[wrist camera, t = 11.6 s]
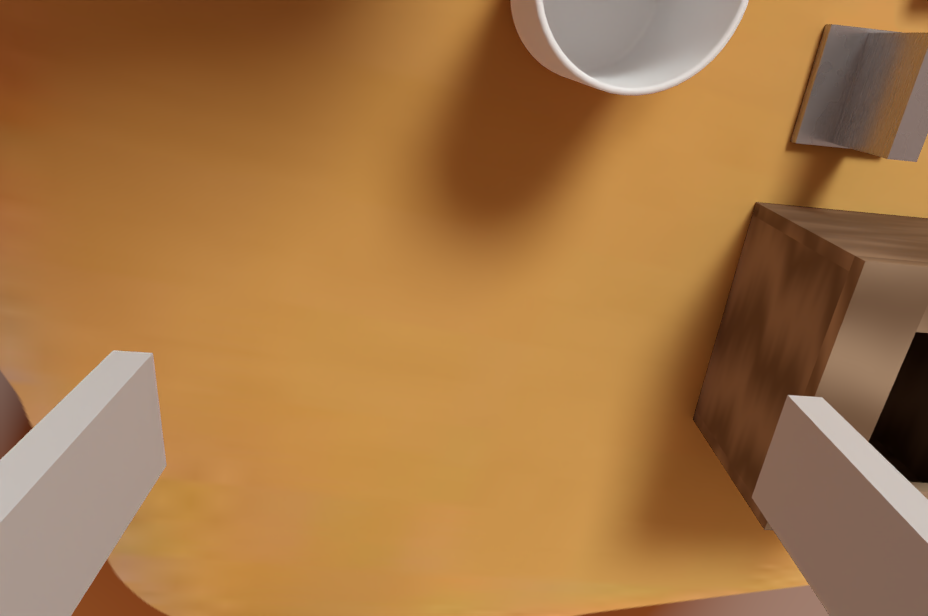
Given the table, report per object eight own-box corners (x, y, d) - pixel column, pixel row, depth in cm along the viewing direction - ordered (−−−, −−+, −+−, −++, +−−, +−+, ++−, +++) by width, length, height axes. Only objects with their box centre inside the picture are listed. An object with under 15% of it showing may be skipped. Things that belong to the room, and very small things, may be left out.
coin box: (756, 202, 39) (865, 261, 29) (953, 220, 40) (1126, 284, 30) (692, 419, 45) (764, 529, 35) (864, 431, 46) (981, 542, 36)
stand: (825, 24, 35) (891, 22, 30) (927, 36, 35) (1009, 36, 30) (790, 141, 37) (845, 158, 32) (885, 151, 38) (954, 169, 33)
